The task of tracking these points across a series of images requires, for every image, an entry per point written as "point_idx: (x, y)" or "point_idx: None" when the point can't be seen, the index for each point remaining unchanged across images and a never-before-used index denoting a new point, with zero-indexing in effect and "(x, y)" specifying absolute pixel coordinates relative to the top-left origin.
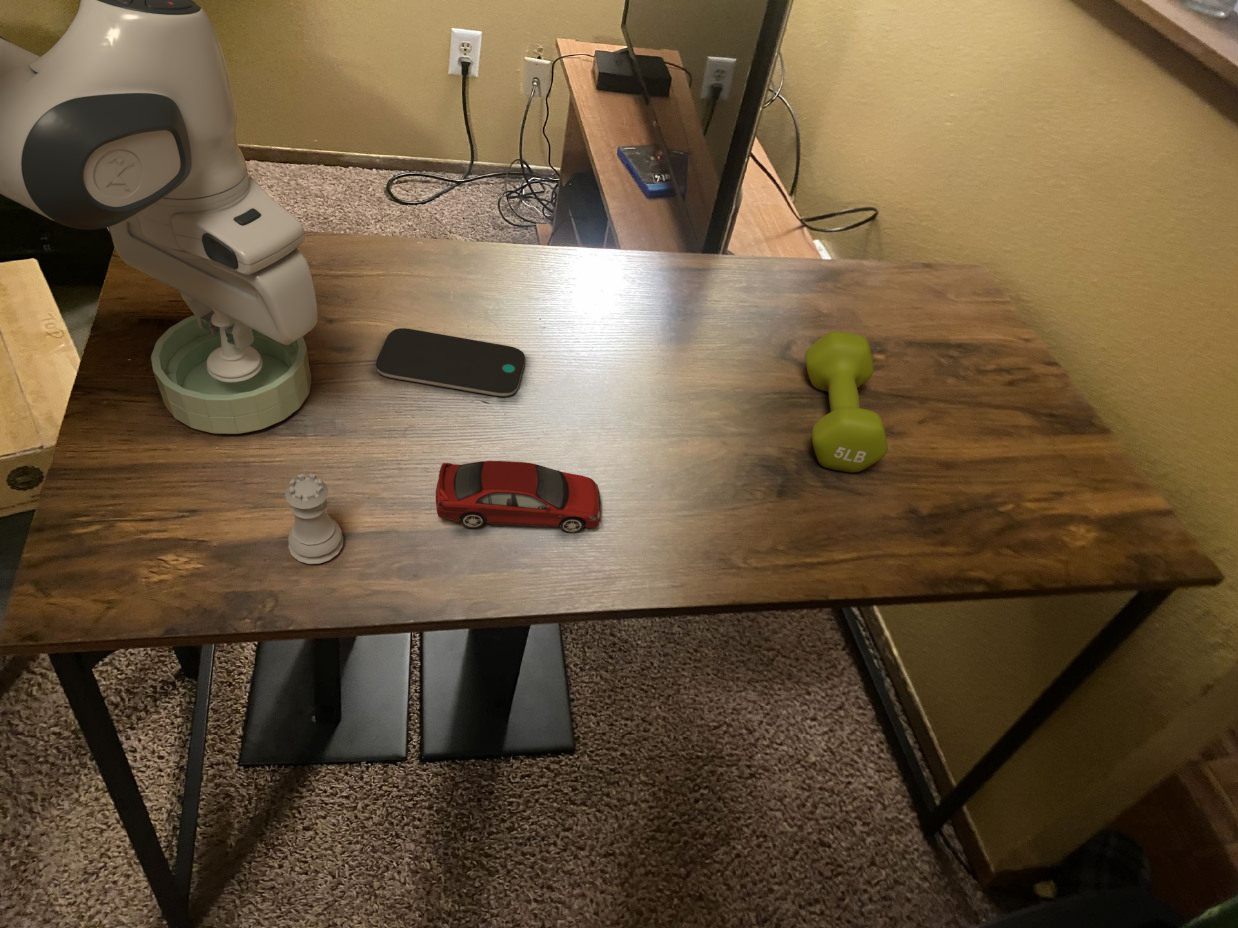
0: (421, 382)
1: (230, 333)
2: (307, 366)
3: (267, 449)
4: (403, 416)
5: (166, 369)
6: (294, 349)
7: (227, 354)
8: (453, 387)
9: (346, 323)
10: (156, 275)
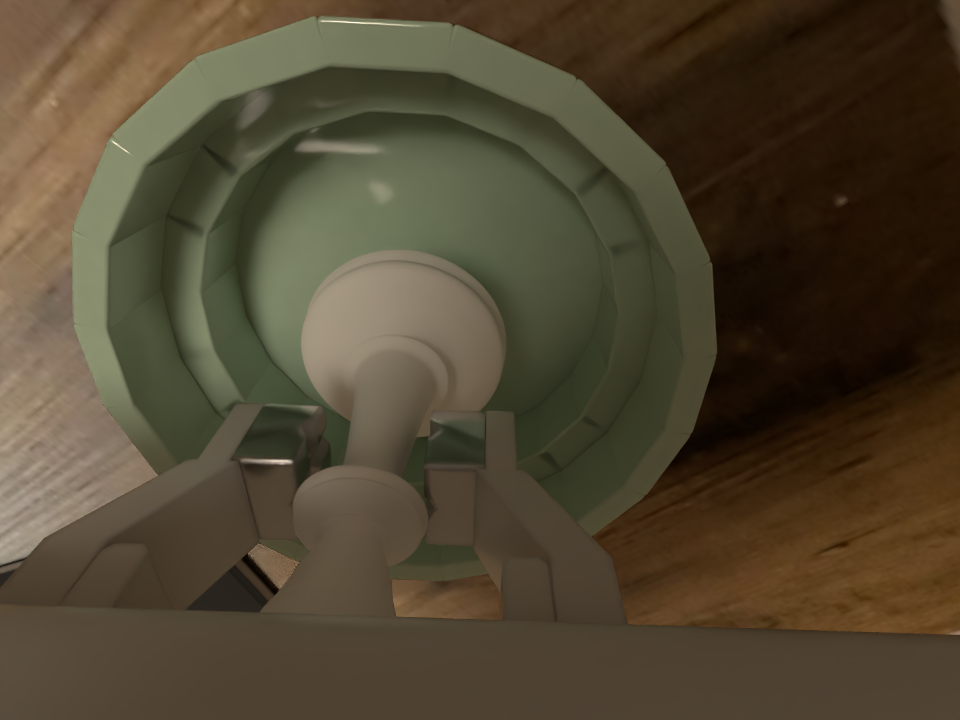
0: None
1: (247, 460)
2: None
3: (117, 119)
4: (13, 441)
5: (620, 188)
6: None
7: (375, 361)
8: (20, 562)
9: (407, 593)
10: (840, 705)
